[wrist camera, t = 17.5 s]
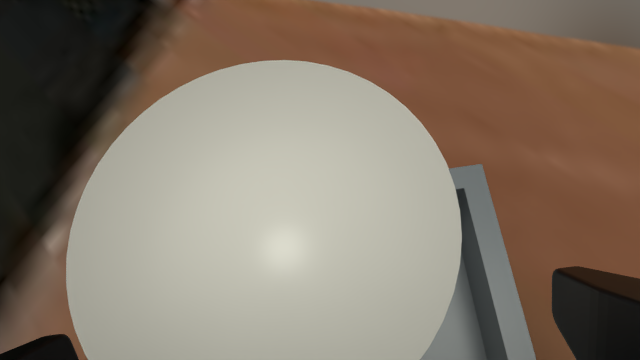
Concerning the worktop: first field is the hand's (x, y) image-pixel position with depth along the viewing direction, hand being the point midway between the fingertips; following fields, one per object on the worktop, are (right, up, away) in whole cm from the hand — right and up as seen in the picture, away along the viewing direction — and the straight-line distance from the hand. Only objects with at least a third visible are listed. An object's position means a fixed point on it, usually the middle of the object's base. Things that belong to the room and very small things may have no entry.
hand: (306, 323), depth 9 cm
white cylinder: (+1, -3, +9) cm, 10 cm away
